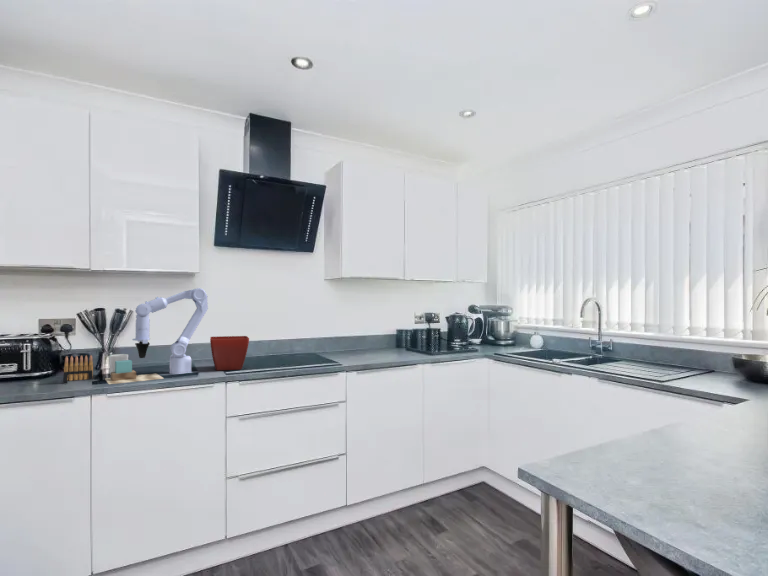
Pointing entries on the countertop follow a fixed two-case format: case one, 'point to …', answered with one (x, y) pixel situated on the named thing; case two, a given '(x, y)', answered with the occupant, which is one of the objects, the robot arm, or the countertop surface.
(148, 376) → the birch board
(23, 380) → the countertop surface
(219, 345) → the plant pot
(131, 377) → the walnut base block
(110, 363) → the white cup
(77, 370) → the ammunition clip
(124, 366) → the teal brick
